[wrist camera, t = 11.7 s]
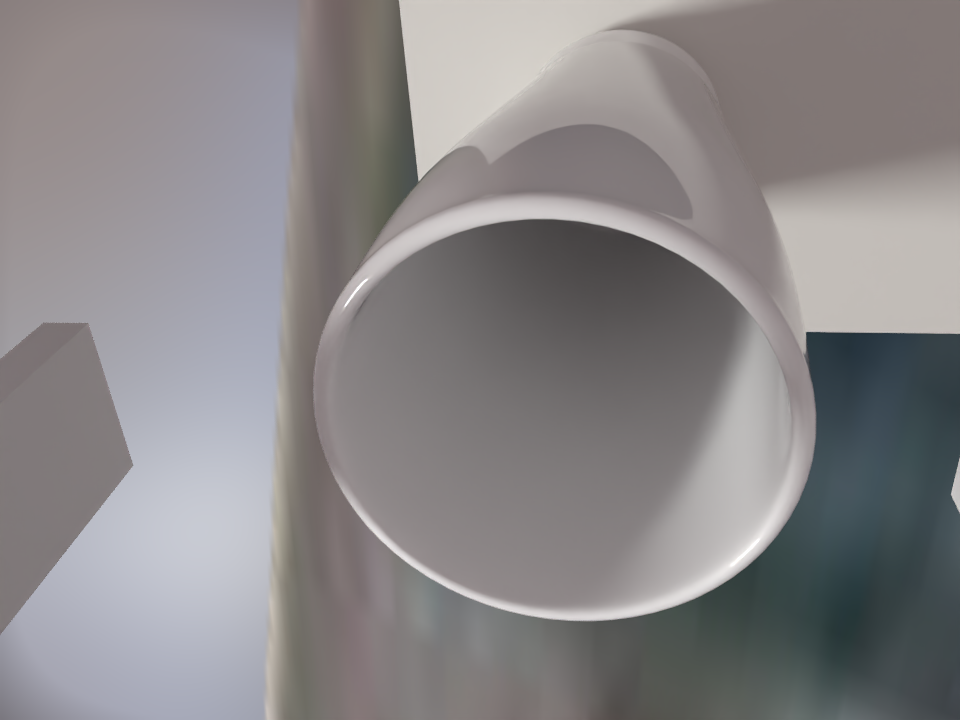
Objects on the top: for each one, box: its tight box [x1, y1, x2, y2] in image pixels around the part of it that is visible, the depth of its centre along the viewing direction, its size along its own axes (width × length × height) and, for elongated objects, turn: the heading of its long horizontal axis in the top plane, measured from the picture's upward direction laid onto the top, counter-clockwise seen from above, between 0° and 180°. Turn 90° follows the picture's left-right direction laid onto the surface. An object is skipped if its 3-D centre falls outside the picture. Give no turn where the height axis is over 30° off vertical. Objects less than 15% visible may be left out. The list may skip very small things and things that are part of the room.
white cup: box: [313, 30, 816, 621], centre depth 18 cm, size 7×7×15 cm
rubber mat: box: [399, 0, 960, 334], centre depth 24 cm, size 24×13×1 cm, turn 94°
